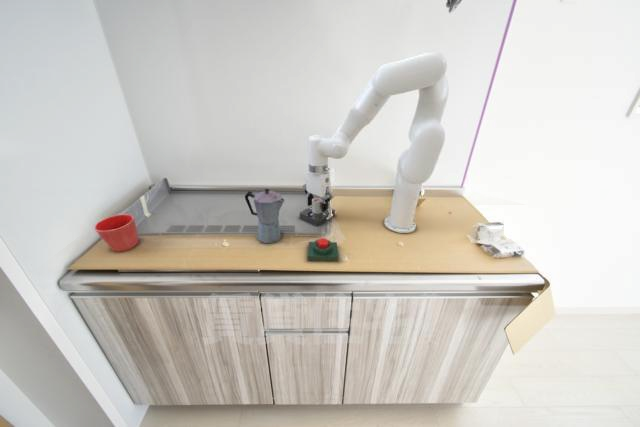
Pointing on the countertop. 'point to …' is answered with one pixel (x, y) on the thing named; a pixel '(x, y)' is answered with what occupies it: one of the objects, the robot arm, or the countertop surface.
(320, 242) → the button
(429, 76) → the robot arm
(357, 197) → the countertop surface
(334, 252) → the button block
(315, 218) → the stove panel
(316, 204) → the stove knob
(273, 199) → the moka pot
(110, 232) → the flower pot
